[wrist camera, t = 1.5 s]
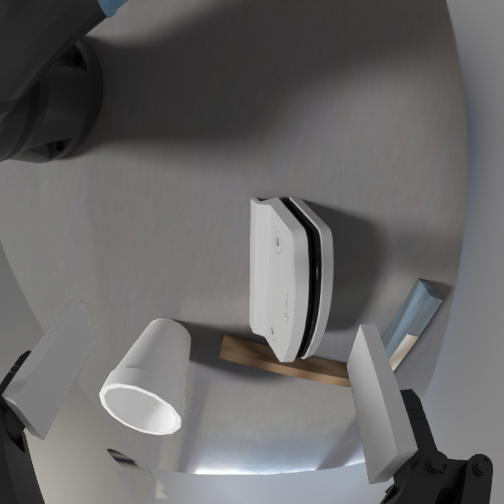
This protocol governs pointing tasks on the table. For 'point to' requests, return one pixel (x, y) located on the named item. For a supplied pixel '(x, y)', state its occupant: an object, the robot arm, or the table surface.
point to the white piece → (289, 276)
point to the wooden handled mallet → (395, 343)
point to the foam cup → (151, 380)
